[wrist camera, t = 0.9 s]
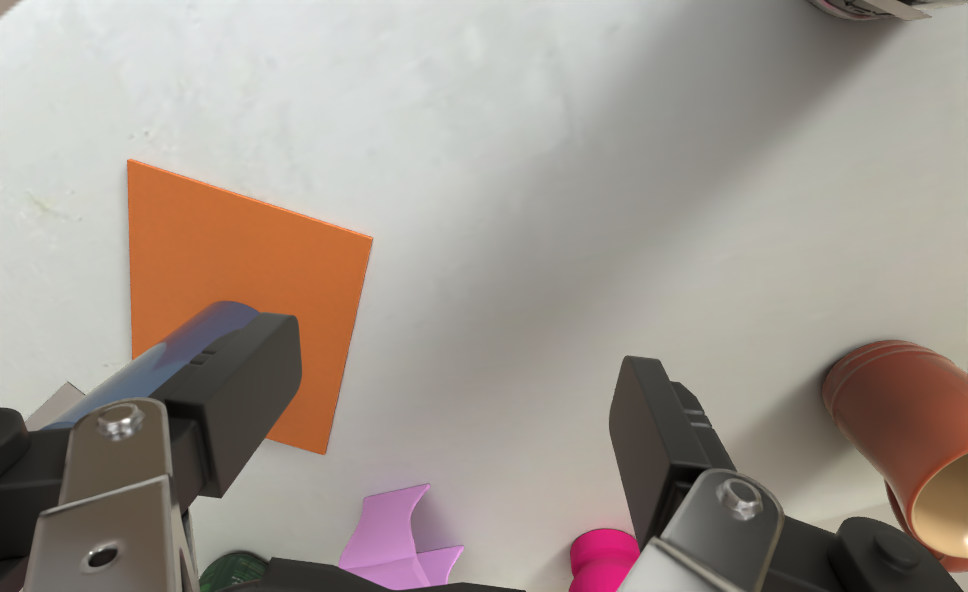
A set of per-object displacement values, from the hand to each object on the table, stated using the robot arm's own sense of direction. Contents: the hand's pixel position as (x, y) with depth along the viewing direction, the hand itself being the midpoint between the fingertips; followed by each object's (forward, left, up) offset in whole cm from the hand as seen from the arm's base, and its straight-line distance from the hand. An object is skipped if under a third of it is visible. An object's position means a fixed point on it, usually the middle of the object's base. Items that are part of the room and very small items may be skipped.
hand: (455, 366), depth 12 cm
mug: (+6, +29, -20) cm, 36 cm away
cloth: (+16, -15, -19) cm, 29 cm away
